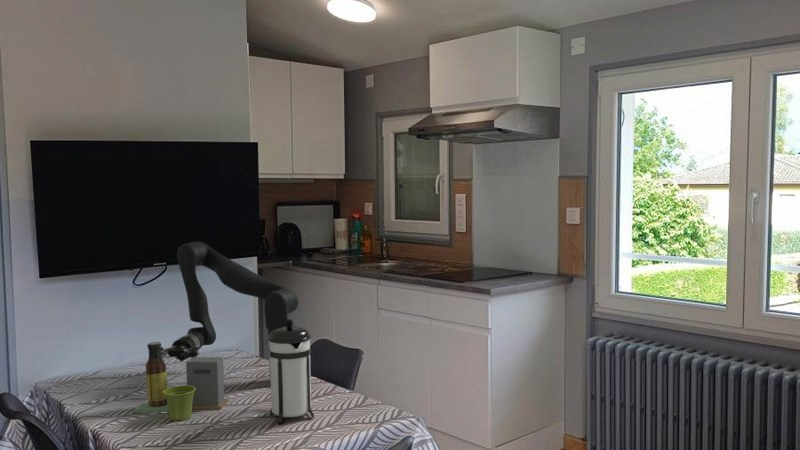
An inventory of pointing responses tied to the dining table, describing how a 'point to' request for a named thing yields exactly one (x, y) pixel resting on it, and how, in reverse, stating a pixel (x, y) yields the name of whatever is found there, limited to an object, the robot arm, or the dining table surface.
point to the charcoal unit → (206, 382)
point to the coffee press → (290, 372)
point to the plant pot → (179, 401)
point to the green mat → (151, 408)
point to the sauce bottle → (156, 375)
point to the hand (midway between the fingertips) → (168, 358)
